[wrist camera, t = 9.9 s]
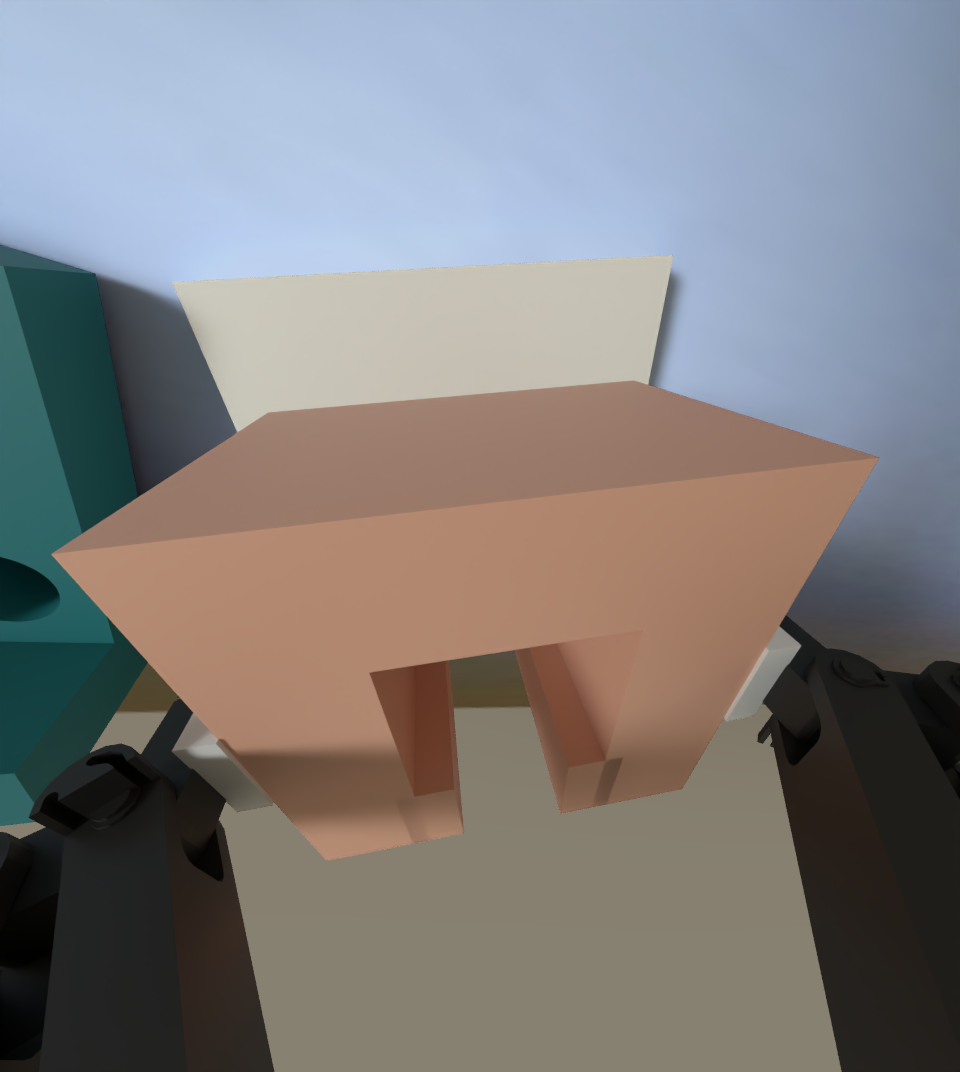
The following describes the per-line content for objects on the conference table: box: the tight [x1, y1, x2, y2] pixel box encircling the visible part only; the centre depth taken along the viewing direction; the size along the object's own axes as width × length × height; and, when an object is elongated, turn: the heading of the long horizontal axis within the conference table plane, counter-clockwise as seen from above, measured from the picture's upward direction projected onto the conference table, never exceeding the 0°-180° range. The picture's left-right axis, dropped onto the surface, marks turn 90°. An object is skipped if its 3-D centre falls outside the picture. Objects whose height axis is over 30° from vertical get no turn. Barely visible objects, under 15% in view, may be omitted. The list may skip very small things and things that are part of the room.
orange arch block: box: [51, 380, 879, 861], centre depth 11 cm, size 11×11×7 cm
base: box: [172, 255, 673, 432], centre depth 15 cm, size 18×18×8 cm
